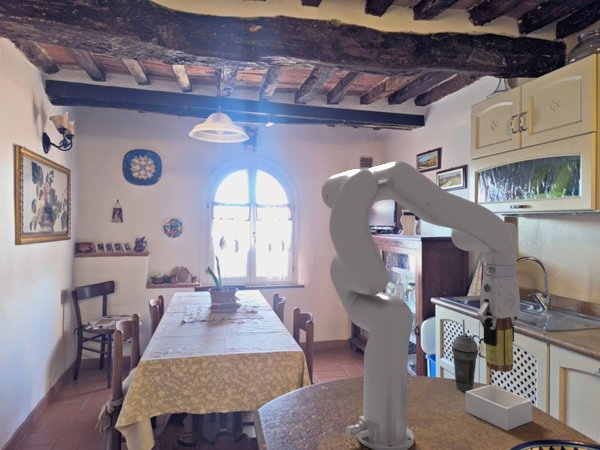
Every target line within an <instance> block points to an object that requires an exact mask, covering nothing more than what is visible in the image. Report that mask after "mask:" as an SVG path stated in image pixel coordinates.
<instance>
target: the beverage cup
mask: <svg viewBox="0 0 600 450" xmlns="http://www.w3.org/2000/svg"><path fill="white" fill-rule="evenodd" d="M465 326H466V325H465V319H462V334H461V335H459V336H457V337H455V338H454V340H453V341H452V346H451V349H452V355H453V365H454V378H455V379H454V380H455V386H456V387H455V388H456V389H457V390H458V391H462V392H466V391H470V390H473V389H474V384H475V374H476V364H477V363H476V362H477V358H478V353H479V349H478V344H477V341H476V340H475V339H474V338H473V337H472V336H470V335H467V334H466V327H465Z"/></svg>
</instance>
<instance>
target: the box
mask: <svg viewBox="0 0 600 450" xmlns="http://www.w3.org/2000/svg"><path fill="white" fill-rule="evenodd" d="M464 392H465V391H464ZM464 400H465V401H464V402H465V403H464V405H465V408H464V411H465V412H466V413H468V414H470V415H472V416H475V417H476V418H479V419H481V420H483V421H485V422H487V423H489V424H492V425H494V426H496V427H498V428H500V429H502V430H505V431H509V430H513V429H515V428H517V427H519V426H523V425H525V424H527V423H530V422H532V421H533V400H532V399H529V398H528V397H525V396H521V395H519V394H517V393H513V392H511V391H508V390H506V389H503V388H501V387H499V386H498V387H497V386H496V385H492V384H488V385H484V386H480V387H477V388H475V389H474V388H473V390H470V391H466V392H465V399H464Z"/></svg>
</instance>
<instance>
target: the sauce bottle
mask: <svg viewBox="0 0 600 450" xmlns="http://www.w3.org/2000/svg"><path fill="white" fill-rule="evenodd" d="M489 316H492V314H489ZM488 319H489V318H488ZM489 321H490V322H492V319H489ZM495 330H497V345H496V346H492V345H488V344H485V343H484V344H485V347H484V348H485V349H484V350H485V362H486V367H487V368H488V369H490V370H493V371H495V372H496V371H498V372H503V373H506V372H511V371H513V370H514V369H513V368H514V365H513V364H514V347H513V344H514V342H513V334H512V319H511V317H508V318H505V319H497V323H496V326H495Z"/></svg>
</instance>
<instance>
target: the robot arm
mask: <svg viewBox="0 0 600 450" xmlns="http://www.w3.org/2000/svg"><path fill="white" fill-rule="evenodd" d="M321 198H322V201H323V203H324V204H325V206H326V207H328V208H329V209H331V212H330V217H329V227H328V228H329V235H330V238H331V242H332V244H333V247H334V249H335V252H336V255H334V256H333V258H332V259H331V263H330V267H329V274H330V280H331V282H332V284H333V287H334V289H335V292H336V294H337V296H338V297H339V300H340V302H341V304H342V306H343V308H344V310H345V312H346V314H347V316H348V317H349V320H350V321H351V322H352V323H353V324H354V325H356V326H357V327H359V328H361V329H362V330H365V331H367V333H369V334H368V335H369V336H368V339H367V342H366V345H365V348H364V352H363V353H364V355H363V403H362V411H363V413H362V415H361V416H359V417H358V419H359V420H358V422H356V423H355V424H352V425H348V426H346V427H345V429H344V432H345V434H346V436H347V437H353V436H355V437H356V439H357V440H358V441H359V442H360V443H361V444H362V445H363V446H365V447H367V448H370V449H372V450H408V449H410V448H411V447H412V446H413V445H414V444H415V435H414V433H413V431H412V430H411V429H410V428H409V427H408V422H407V421H408V366H409V363H408V362H409V345H410V340H411V335H412V330H413V326H414V325H413V324H414V316H413V312H412V309H411V307H410V305H409V304H407V302H406V301H404V300H403V299H401V298H400V297H398V296H396V295H393V294H389V293H386V292H383V291H384V290H385V289H386V288H387V287H388V284H389V272H388V269H387V266H386V264H385V262H384V260H383V257H382V255H381V253H380V251H379V248H378V246H377V244H376V241H375V239H374V237H373V234H372V232H371V228H370V213H371V211H372V208H373V205H374V203H377V202H381V201H389V200H392V201H394V202H396V203H397V204H398V205H400V206H402V208H403V207H404V209H405V210H407V211H409V212H410V213H412V214H414V215H415V216H416V217H417V218H419V219H420V220H422V221H423V222H425V223H427V224H431V225H433V226H438V227H443V228H448V229H451V236H450V237H451V241H452V243H453V244H454V246H455V247H457V248H458V249H459V250H462V251H466V252H481V253H482V254H483V256H482V257H483V258H482V259H483V260H482V261H483V263H482V265H483V266H482V281H481V288H480V298H479V299H480V300H479V301H480V303H479V304H480V306H479V307H480V308H479V310H478V312H477V314H476V316H477V318H478V319H479V321H480V323H481V328H483V344H488V345H492V346H496V345H497V330H495V326H496V323H497V319H505V318H508V317H511V319H512V334H513V343H514V342H515V326H516V324H517V323H516V320H517V319H518V316H519V315H520V313H521V298H520V287H519V285H520V284H519V280H518V277H517V258H518V257H517V253H518V251H517V249H518V248H517V247H518V246H517V244H518V243H517V239H518V235H517V234H518V233H517V232H518V230H517V226H516V225H515V224H514V223H513V222H505V221H504V220H503V219H502V218H501V217H500V216H499V215H497V214H496V213H495V212H493V211H492V210H490V209H488V208H486V207H485V206H483V205H481V204H479V203H476V202H474V201H472V200H468V199H466V198H463V197H462V196H458V195H456V194H453V193H450V192H448V191H446V190H445V189H443V188H442V187H441V186H439V185H438V184H437V183H435V182H434V181H432V180H431V178H428V177H427V176H426V175H425V174H423V173H422V172H421V171H419V170H418V169H416V168H415V167H414V166H412V165H411V164H409V163H408V162H405V161H399V160H397V161H392V162H388V163H384V164H381V165H377V166H373V167H370V168H366V169H364V168H358V169H357V168H356V169H351V170H347V171H345V172H342V173H338V174H333V175H332V176H330V177H329V178H327V179H326V180H325V182H324V183H323V185H322V187H321ZM489 314H492V316H489ZM488 318H489V319H492V322H490V321H489V319H488Z"/></svg>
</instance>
